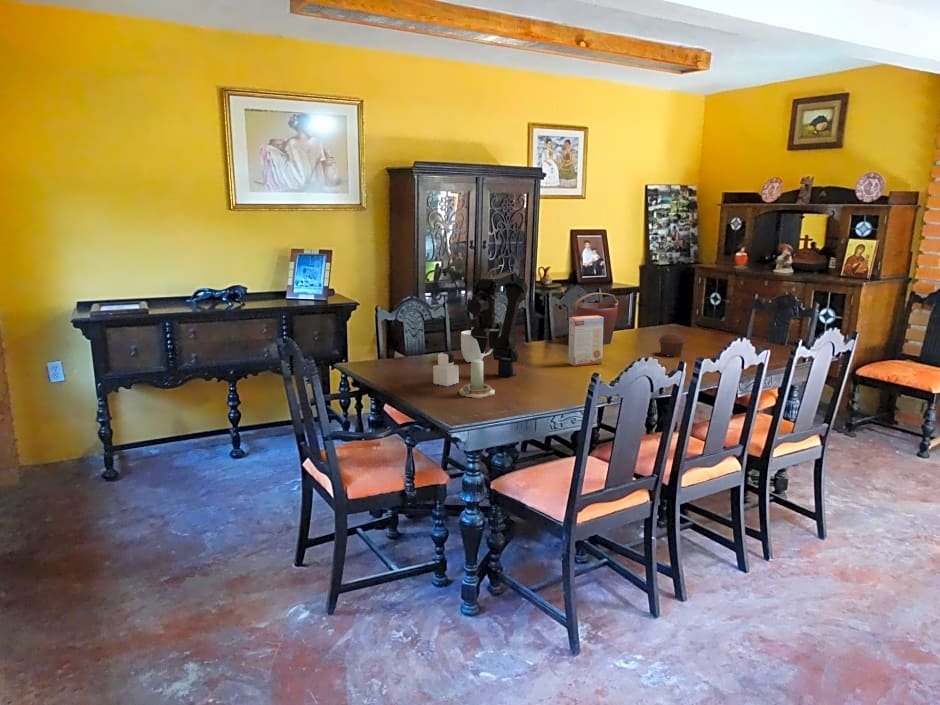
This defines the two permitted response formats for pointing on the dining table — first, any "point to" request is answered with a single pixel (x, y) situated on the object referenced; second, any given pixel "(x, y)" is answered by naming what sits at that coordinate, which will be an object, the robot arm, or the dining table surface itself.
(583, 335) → the cracker box
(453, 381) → the medicine bottle
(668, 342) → the muffin
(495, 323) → the robot arm
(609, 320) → the bucket
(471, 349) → the mug
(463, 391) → the flange plate
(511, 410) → the dining table surface
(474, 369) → the post
